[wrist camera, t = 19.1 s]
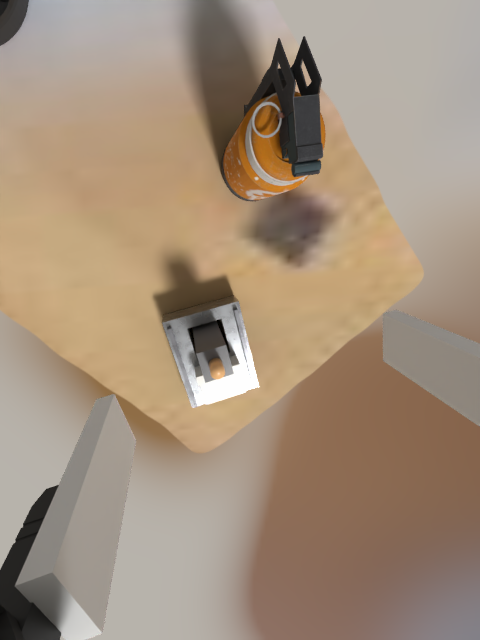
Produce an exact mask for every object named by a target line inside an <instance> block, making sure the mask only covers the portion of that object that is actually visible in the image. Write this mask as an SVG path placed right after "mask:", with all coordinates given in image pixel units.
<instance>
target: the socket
mask: <svg viewBox="0 0 480 640" xmlns="http://www.w3.org/2000/svg"><path fill="white" fill-rule="evenodd" d="M219 319H220V320H221V324H222V328H223V331H224V335H225V339H226V346H227V350H228V354H229V357H230V356H233V355H236V356H237V358H238V360H239V363H240V366H241V370H242V372H241V375H242V378H243V382H244V386H245V390H249V389H252V388H256V387H258V386H259V385H258V381H257V376H256V372H255V368H254V364H253V360H252V355H251V351H250V347H249V343H248V339H247V335H246V330H245V326H244V322H243V318H242V314H241V309H240V305H239V301H238V300H237V299H236V297H235V296H234V295H233V296H230V297H226V298H222V299H219V300H215V301H212V302H208V303H205V304H201V305H197V306H194V307H190V308H187V309H183V310H179V311H176V312H172V313H169V314H165V315H163V320H162V324H163V327H164V330H165V333H166V335H167V338H168V341H169V344H170V347H171V350H172V352H173V355H174V358H175V361H176V364H177V366H178V369H179V372H180V375H181V378H182V381H183V383H184V386H185V389H186V392H187V395H188V398H189V400H190V403H191V406H192V408H195V407H198V406H200V405H203V404H206V402H205V399H204V396H203V393H202V390H201V387H200V386H198V383H197V380H196V375H195V367H198V366H200V364H199V361H198V358H197V355H196V349H195V346H194V343H193V340H192V337H191V333H190V330H189V328H192V327H195V326H198V325H202V324H205V323H209V322H212V321H216V320H219Z"/></svg>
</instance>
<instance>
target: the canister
mask: <svg viewBox="0 0 480 640" xmlns="http://www.w3.org/2000/svg"><path fill="white" fill-rule="evenodd" d="M302 61H304V64H305V66H306V69H307V71H308V74H309V76H310V79H311V81H312V82H311V84H310V85H309V86H308V87H307V85H306V82H305V78H304V75H303V71H302V68H301V65H302ZM278 63H279V64H280V67H281V69H278ZM295 79H296V81H295ZM296 82H297V85H298V88H299V91H300V93H298V92H295V85H296ZM321 82H322V79H321V77H320V74H319V71H318V69H317V66H316V64H315V61H314V59H313V56H312V54H311V51H310V49H309V46H308V44H307V41H306V39H305V36H304V37H303V40H302V42H301V45H300V48H299V51H298V54H297V56H296V59H295V62H294V64H293V65H292V67H291V68H290V65H289V63H288V60H287V57H286V54H285V52H284V49H283V46H282V44H281V41H280V38H278V42H277V45H276V49H275V53H274V56H273V60H272V64H271V66H270V68H269V70H267V72H266V74H265V75H264V77H263V79H262V82H261V84H260V85H259V87H258V89H257V91H256V92H255V94H254V96H253V97H252V99H251V101H250V103H249V104H248V105H244V119H243V120H242V122H241V124H240V125H239V127H238V129H237V130H236V132H235V134H234V135H233V137H232V139H231V140H230V142H229V144H228V145H227V147H226V149H225V151H224V154H223V157H222V174H223V178H224V181H225V183H226V185H227V187H228V188H229V190H230V191H231V192H232V193H233V194H234V195H235V196H237V197H238V198H240V199H243V200H246V201H258V200H262V199H265V198H268V197H271V196H274V195H277V194H280V193H283V192H286V191H289V190H292V189H294V188H296V187H297V186H299V185H300V184H302V183H303V182H304V181H305V180H306V179H307V177H308V176H309V175H313V174H319V173H320V169H321V161H320V159H321V158H322V157H323V150H324V145H325V125H324V121H323V118H322V115H321V113H320V99H319V93H320V87H321Z"/></svg>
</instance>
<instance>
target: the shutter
mask: <svg viewBox="0 0 480 640" xmlns="http://www.w3.org/2000/svg"><path fill="white" fill-rule="evenodd" d="M230 361H231V365H232V369H233V372H234V374H232V375H229V376H226V377H223V378H221V379H218V380H217V379H216V380H213V381H210V382H207V383H205V380H204V377H203V374H202V371H201V367H200V366H198V367H195V375H196V380H197V383H198V386H200V387H201V390H202V393H203V396H204V399H205V402H206V405H208V404H211V403H214V402H217V401H220V400H223V399H226V398H230V397H233V396H236V395H239V394H242V393H245V392H246V390H245V386H244V382H243V378H242V375H241V372H242V370H241V366H240V363H239V360H238V358H237V356H236V355H233V356H230Z"/></svg>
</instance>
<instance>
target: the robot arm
mask: <svg viewBox="0 0 480 640" xmlns="http://www.w3.org/2000/svg"><path fill="white" fill-rule="evenodd" d="M28 2H29V0H0V46H1V45H2V44H4V43H6V42H7V41H9V40H10V39H11V38H12V37H13V36H14V35H15V34H16V32H17V31H18V30H19V28H20V27H21V25H22V23H23V21H24V18H25V16H26V12H27V8H28ZM383 361H384V362H386V363H387V364H389V365H390V366H391V367H393V368H394V369H396V370H397V371H399V372H400V373H402V374H403V375H405V376H406V377H408V378H409V379H411V380H412V381H414V382H415V383H417V384H418V385H420V386H421V387H422V388H424V389H425V390H427V391H428V392H430V393H431V394H433V395H434V396H436V397H437V398H438V399H440V400H441V401H443V402H444V403H446V404H447V405H449V406H450V407H452V408H453V409H455V410H456V411H458V412H459V413H460V414H462V415H463V416H465V417H466V418H468V419H469V420H471V421H472V422H474V423H475V424H477V425H478V426H480V344H479V343H477V342H474V341H472V340H470V339H467V338H464V337H462V336H460V335H457V334H455V333H452V332H450V331H447V330H445V329H442V328H440V327H438V326H435V325H433V324H430V323H428V322H425V321H423V320H421V319H418V318H416V317H413V316H411V315H408V314H406V313H404V312H401V311H399V310H393V311H390V312H386V313H383ZM135 445H136V439H135V437H134V435H133V433H132V431H131V428H130V426H129V424H128V422H127V420H126V418H125V416H124V413H123V412H122V409H121V407H120V405H119V403H118V401H117V399H116V397H115V394H113V395H109V396H106V397H102V398H99V399H96V401H95V404H94V406H93V408H92V410H91V413H90V415H89V417H88V420H87V422H86V424H85V427H84V429H83V431H82V433H81V436H80V438H79V440H78V442H77V445H76V447H75V450H74V452H73V454H72V456H71V458H70V461H69V463H68V465H67V468H66V470H65V472H64V474H63V477H62V479H61V482H60V484H59V485H57V486H54V487H51V488H48V489H46V490H45V491H44V492H43V494H42V495H41V496H40V497H39V498H38V500H37V501H36V502H35V504H34V505H33V506H32V507H31V510H30V511H29V514H28V515H27V517H26V520H25V521H24V523H23V528H21V530H20V532H19V533H18V535H17V538H16V542H15V543H14V544H13V545H12V548H11V549H10V551H9V554H8V556H7V558H6V560H5V562H4V564H3V566H2V568H1V570H0V640H60V636H62V637H63V638H65V640H87V639H89V638H92V637H94V636H97V635H99V634H102V632H103V627H104V621H105V615H106V610H107V604H108V598H109V593H110V587H111V582H112V576H113V570H114V564H115V559H116V553H117V547H118V542H119V536H120V530H121V524H122V519H123V513H124V507H125V502H126V496H127V490H128V485H129V479H130V473H131V468H132V462H133V456H134V450H135Z"/></svg>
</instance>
